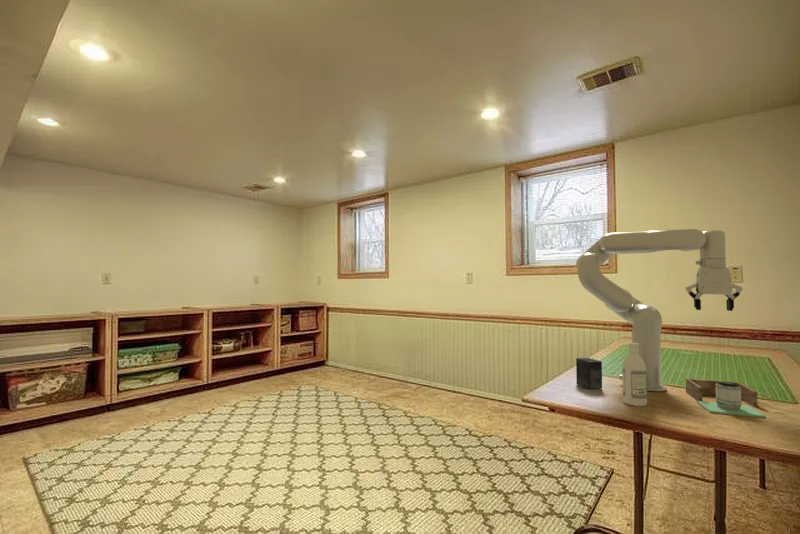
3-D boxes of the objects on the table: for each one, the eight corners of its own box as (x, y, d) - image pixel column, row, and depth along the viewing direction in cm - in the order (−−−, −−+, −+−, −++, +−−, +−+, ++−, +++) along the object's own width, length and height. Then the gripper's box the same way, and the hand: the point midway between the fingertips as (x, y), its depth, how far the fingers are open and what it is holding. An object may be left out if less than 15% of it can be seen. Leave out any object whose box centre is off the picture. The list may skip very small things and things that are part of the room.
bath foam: (651, 405, 132) (650, 344, 133) (638, 408, 129) (637, 345, 130) (631, 399, 138) (630, 341, 139) (618, 402, 135) (617, 342, 136)
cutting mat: (709, 412, 125) (709, 410, 125) (696, 402, 135) (696, 400, 135) (765, 417, 120) (765, 415, 120) (747, 407, 130) (747, 405, 130)
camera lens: (715, 403, 132) (715, 379, 132) (740, 407, 128) (739, 382, 129) (716, 408, 127) (716, 383, 127) (742, 412, 123) (741, 386, 124)
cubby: (699, 402, 136) (698, 387, 136) (685, 392, 148) (685, 378, 148) (757, 407, 130) (757, 391, 131) (738, 396, 143) (738, 382, 143)
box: (602, 389, 151) (602, 361, 152) (589, 390, 150) (589, 361, 150) (588, 384, 159) (588, 357, 159) (576, 384, 158) (575, 357, 158)
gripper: (688, 263, 148) (689, 310, 147) (746, 263, 142) (747, 311, 142) (681, 264, 155) (682, 308, 154) (736, 264, 149) (737, 310, 149)
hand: (713, 310), depth 148 cm, fingers open, 9 cm apart
